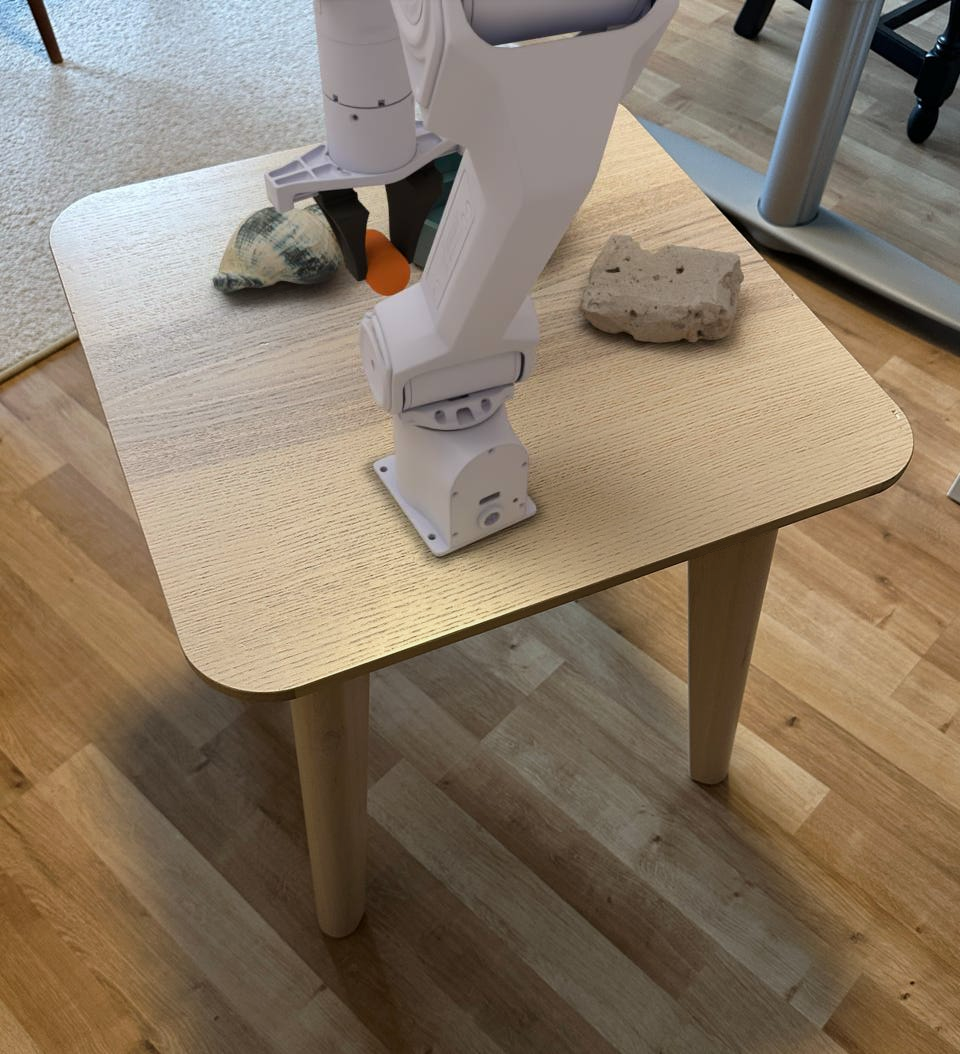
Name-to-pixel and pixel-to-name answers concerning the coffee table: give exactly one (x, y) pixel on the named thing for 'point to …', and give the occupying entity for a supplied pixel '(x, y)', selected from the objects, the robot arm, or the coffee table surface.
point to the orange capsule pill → (385, 265)
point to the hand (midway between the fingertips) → (380, 264)
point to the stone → (662, 291)
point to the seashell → (279, 250)
